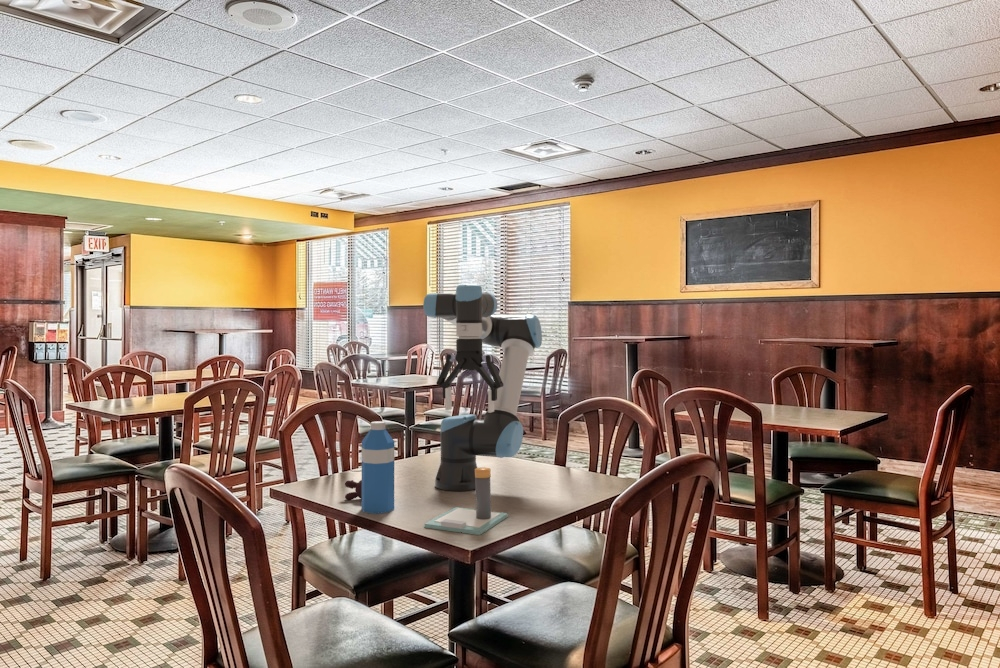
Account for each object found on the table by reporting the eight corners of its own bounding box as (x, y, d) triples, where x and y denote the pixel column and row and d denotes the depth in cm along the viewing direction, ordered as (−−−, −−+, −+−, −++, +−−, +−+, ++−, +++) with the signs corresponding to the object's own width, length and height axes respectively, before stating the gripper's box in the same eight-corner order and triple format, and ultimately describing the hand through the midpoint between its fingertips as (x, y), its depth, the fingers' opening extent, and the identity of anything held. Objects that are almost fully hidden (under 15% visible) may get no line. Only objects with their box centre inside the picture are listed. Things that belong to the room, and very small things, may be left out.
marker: (479, 514, 185) (478, 467, 185) (493, 515, 184) (492, 468, 183) (473, 518, 181) (472, 470, 181) (487, 520, 180) (486, 471, 179)
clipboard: (455, 510, 194) (455, 502, 194) (507, 516, 187) (507, 508, 187) (424, 527, 177) (424, 519, 177) (479, 535, 171) (479, 526, 171)
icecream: (396, 476, 209) (348, 479, 211) (389, 475, 202) (340, 478, 203) (396, 499, 208) (348, 502, 209) (390, 499, 201) (340, 502, 202)
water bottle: (396, 505, 200) (396, 420, 199) (392, 513, 190) (392, 424, 190) (364, 505, 199) (364, 420, 199) (358, 513, 190) (358, 424, 190)
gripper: (424, 337, 198) (425, 410, 198) (504, 338, 188) (504, 414, 189) (436, 337, 205) (437, 407, 205) (514, 337, 195) (514, 411, 196)
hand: (469, 411), depth 197 cm, fingers open, 13 cm apart
